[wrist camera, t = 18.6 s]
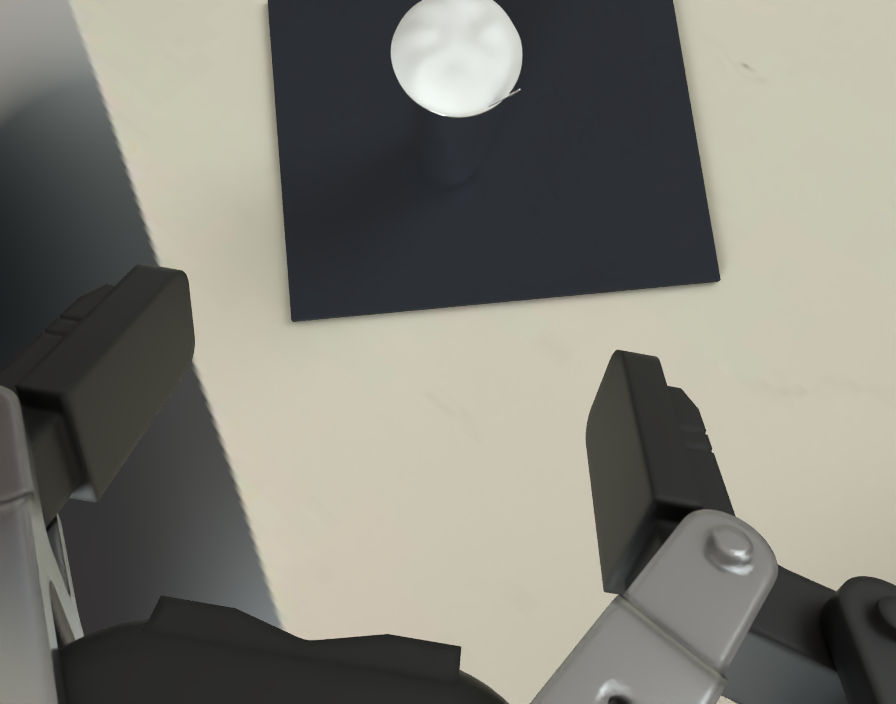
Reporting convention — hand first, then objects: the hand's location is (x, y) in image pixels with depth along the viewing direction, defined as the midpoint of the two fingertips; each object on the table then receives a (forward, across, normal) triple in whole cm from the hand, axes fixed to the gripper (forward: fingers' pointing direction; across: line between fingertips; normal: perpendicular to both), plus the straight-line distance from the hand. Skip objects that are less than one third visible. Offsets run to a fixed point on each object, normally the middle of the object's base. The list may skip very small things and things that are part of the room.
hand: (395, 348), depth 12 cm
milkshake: (+20, 0, +4) cm, 20 cm away
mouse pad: (+21, -2, +3) cm, 21 cm away
